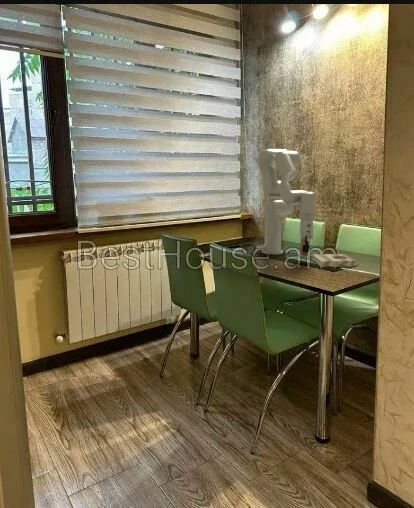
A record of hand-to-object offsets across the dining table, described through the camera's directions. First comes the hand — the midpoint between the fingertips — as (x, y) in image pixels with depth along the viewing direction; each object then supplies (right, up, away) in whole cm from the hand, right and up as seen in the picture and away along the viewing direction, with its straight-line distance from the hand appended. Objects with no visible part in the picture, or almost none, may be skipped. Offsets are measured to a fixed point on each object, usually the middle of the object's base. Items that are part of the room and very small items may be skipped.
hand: (304, 250), depth 213 cm
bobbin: (0, -3, +1) cm, 3 cm away
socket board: (+15, -6, +1) cm, 17 cm away
